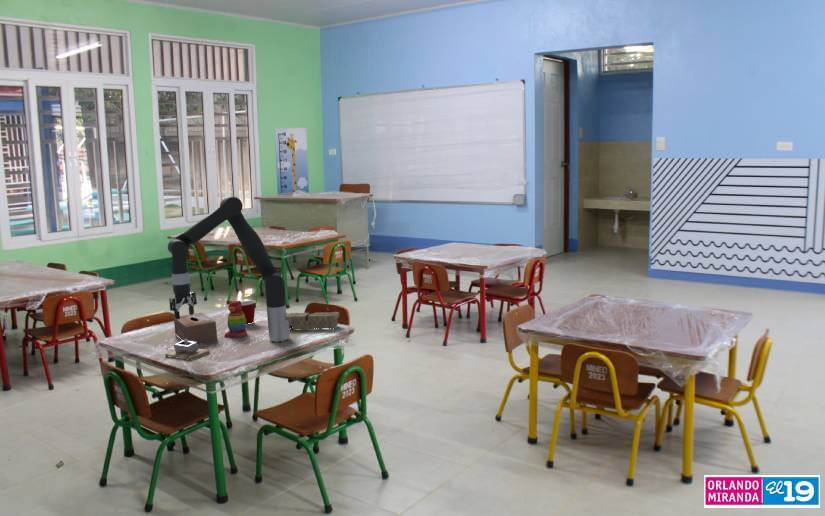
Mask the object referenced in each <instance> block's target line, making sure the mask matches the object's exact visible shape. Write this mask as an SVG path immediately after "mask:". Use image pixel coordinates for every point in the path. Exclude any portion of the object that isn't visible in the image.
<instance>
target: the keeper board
mask: <svg viewBox="0 0 825 516" xmlns="http://www.w3.org/2000/svg"><path fill="white" fill-rule="evenodd" d="M184 344H185V345H188V339H184ZM208 354H210V350H209V349H205V348H204V349H202V348H198V350H197V351H196V352H194V353H192V354H190V355H189V354H182V353H176V352H175V349H174V350H171V351H168V352H166V353H164V356H171V357H178V358H183V359H188V360H187V361H192V360H191V359H193V360H195V358H196V359H198V358H200V357H203V356H206V355H208ZM183 359H182V360H183Z"/></svg>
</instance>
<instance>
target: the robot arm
mask: <svg viewBox="0 0 825 516" xmlns="http://www.w3.org/2000/svg"><path fill="white" fill-rule="evenodd" d="M243 206H244V205H243V202H242V200H241V199H240V198H238V197H237V196H227V197H224V198H223V199H221V201H220V204H219V207H218V208H217V209H215V210H214V211H213V212H212V213H211V214H209V215H208V216H206V217H204V218H203V219H200V220H199V221H197V222H196V223H194V224H193V225H191V226H190V227H189V228H188V229H187V230H186V231H184V232H183V233H180V234H179V235H177V236H176V237H174V238H172V239H171V240H170V241H169V242H168V244H167V250H168V252H169V253H170V254H171V265H170V266H171V267H170V268H171V283H172V291H173V294H174V297H169V310H170V311H172V312H174V313H173V314H174V317H175V318H176V319H180V316H181V315H180V309H181V308H182V306H183V305H186V304H187V306H188V315H189V314H190V315H193V314H195V306H196V305H197V304H198V302H197V301H198V300H197V294H196V291H195V292H194V291H191V285H190V284H191V282H190V275H189V270H188V264H187V263H188V262H187V261H188V249H187V248H188V247H189V246H191V245H194V244H196V243H198V242H199V241H201V240H202V239H203V238H204V237H206V236H207V235H208V234H209V233H211V232H212V231H213V230H214V229H215V228H217V227H218V226H220V225H221V224H223V223H225V222H226V221H227V222H228V224H230V226H231V228H232V229H233V231H234V233H235V236H236V238H237V239H238V241H239V243H240V245H241V247H242V249H243V251H244V252H245V254H246V255H247V257H248V258H249V259H250V261H251V262H252V263H253V265H254V266H255V267H256V268H257V270H258V272H259V274H260V276H261V278H262V280H263V284H264V287H265V300H266V301H265V303H266V315H267V329H268V337H269V338H268V339H269V341H270V342H271V341H274V342H273V343H284V342H286V341H288V340H290V339H291V336H290V335H291V333H290V330H289V321H288V320H287V316H286V313H287V306H286V304H287V303H286V301H287V300H286V299H287V298H286V287H285V286H286V284H285V280H284V278H283V276H282V275H281V274H280V273H279V272H278V271H279V270H277V268H276V267H275V266H274V264H273V263H272V261H271V258H270V256H269V254H268V251H267V249H266V246H265V245H264V243H263V241H262V239H261V237H260V236H259V235H258V233H257V231H256V230H255V229H254V228H253V227H252V226H251V225H250V224H249V223H248V221H247V220H246V218H245V217H244V215H243V212H242V210H243ZM289 338H290V339H289ZM287 339H288V340H287ZM285 340H286V341H285ZM279 341H281V342H279Z"/></svg>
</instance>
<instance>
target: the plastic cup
mask: <svg viewBox="0 0 825 516" xmlns="http://www.w3.org/2000/svg"><path fill="white" fill-rule="evenodd" d="M241 304H242V309H241V311H242V312H243V313H244V315H245V318H246V324H248V323H252V322H255V313H256V310H255V309H256V304H257V301H256V300H253V299H252V300H244V301H241Z"/></svg>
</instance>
